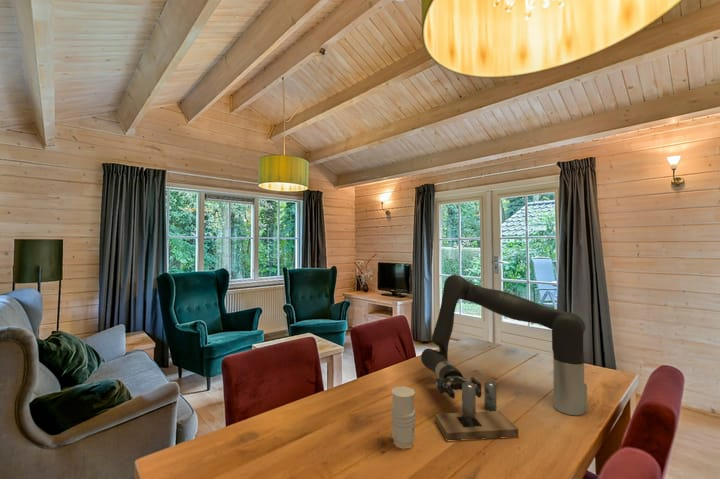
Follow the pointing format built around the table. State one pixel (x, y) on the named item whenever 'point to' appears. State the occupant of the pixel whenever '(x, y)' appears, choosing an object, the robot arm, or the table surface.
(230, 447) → the table surface
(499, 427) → the hole plate
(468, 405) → the tall pin
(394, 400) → the white ribbed cylinder
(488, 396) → the short pin
